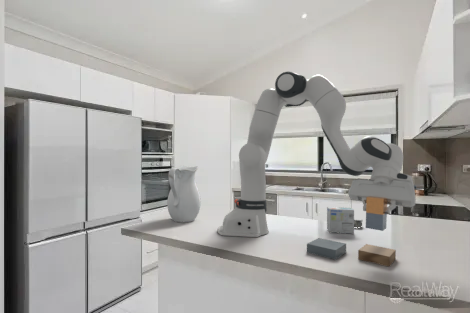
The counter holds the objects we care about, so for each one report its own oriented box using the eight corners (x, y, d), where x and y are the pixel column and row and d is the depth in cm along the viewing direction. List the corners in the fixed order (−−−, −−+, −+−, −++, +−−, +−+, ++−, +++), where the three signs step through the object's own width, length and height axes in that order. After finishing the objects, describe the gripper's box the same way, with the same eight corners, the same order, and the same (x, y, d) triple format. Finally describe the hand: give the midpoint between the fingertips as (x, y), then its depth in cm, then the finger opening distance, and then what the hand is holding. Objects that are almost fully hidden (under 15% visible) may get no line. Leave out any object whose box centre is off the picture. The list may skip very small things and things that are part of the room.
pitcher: (177, 215, 154) (178, 165, 154) (205, 218, 149) (206, 166, 149) (152, 224, 131) (153, 166, 132) (183, 228, 126) (185, 167, 126)
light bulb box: (349, 230, 128) (350, 207, 129) (354, 234, 122) (355, 209, 122) (326, 229, 129) (326, 206, 130) (329, 233, 123) (329, 208, 123)
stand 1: (306, 252, 96) (306, 243, 96) (318, 246, 103) (319, 237, 103) (335, 259, 89) (335, 250, 89) (346, 252, 97) (346, 243, 97)
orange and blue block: (365, 227, 90) (366, 197, 90) (369, 225, 94) (370, 195, 94) (382, 230, 87) (383, 198, 87) (386, 228, 91) (387, 197, 91)
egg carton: (336, 226, 137) (337, 218, 137) (341, 224, 143) (341, 216, 143) (360, 230, 130) (360, 221, 130) (363, 227, 136) (363, 218, 136)
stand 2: (358, 259, 90) (358, 250, 90) (366, 252, 97) (366, 244, 97) (389, 266, 84) (389, 256, 84) (395, 259, 91) (395, 249, 91)
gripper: (351, 172, 103) (341, 201, 95) (417, 176, 89) (411, 210, 82) (355, 184, 106) (345, 212, 99) (418, 189, 93) (413, 223, 85)
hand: (376, 211), depth 90 cm, fingers closed on orange and blue block, 5 cm apart
